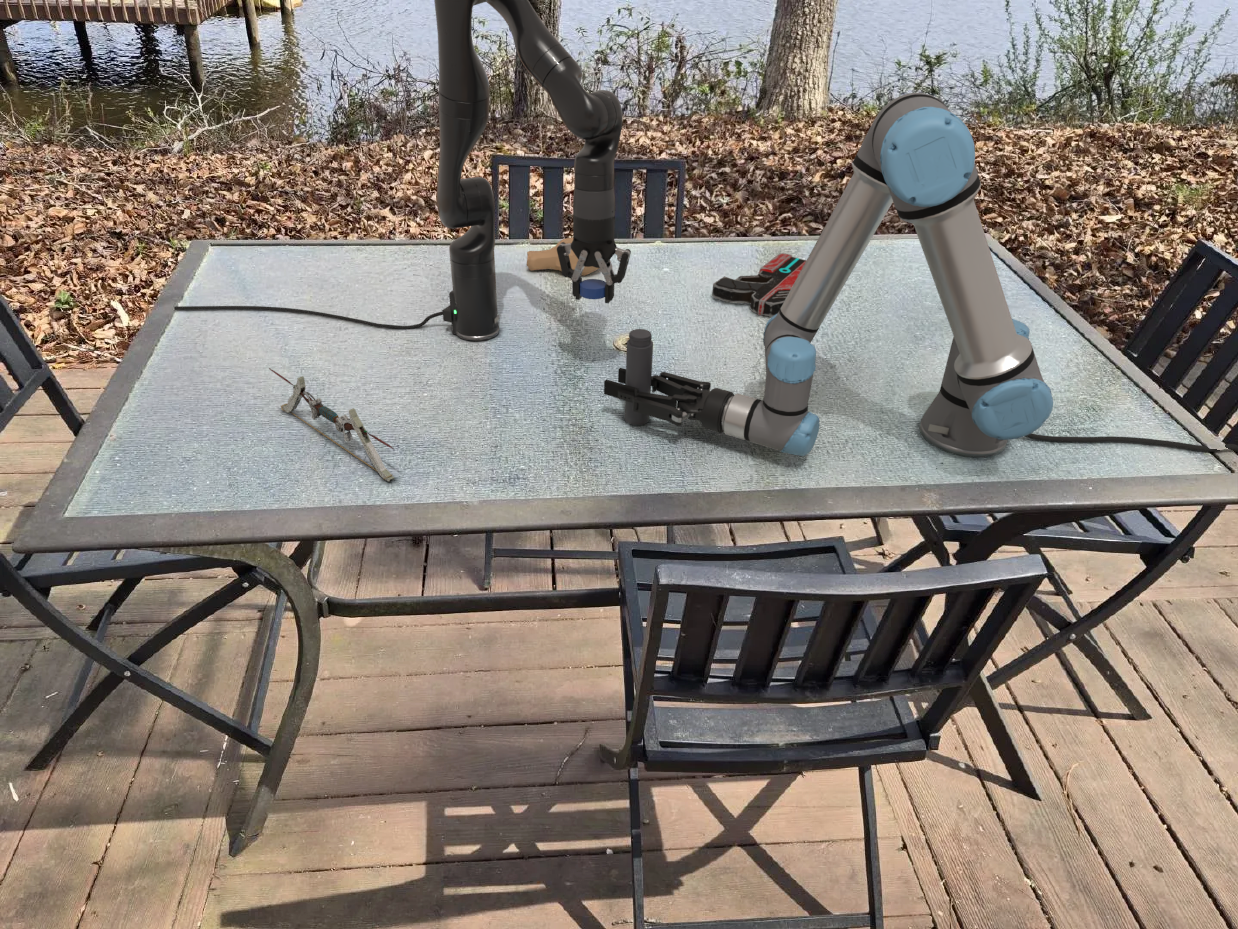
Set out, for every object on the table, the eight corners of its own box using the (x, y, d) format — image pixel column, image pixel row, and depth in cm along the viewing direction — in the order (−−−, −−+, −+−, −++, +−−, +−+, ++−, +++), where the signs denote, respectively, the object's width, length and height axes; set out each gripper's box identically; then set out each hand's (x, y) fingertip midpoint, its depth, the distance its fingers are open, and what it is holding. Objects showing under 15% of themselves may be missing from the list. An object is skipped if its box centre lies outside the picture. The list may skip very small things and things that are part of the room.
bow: (404, 484, 144) (397, 432, 138) (395, 489, 143) (388, 437, 137) (282, 401, 165) (271, 354, 160) (273, 405, 164) (262, 357, 158)
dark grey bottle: (639, 410, 166) (643, 325, 157) (654, 421, 163) (659, 335, 153) (619, 416, 164) (622, 331, 154) (633, 427, 161) (637, 341, 151)
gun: (708, 284, 207) (784, 305, 199) (760, 245, 229) (831, 262, 221) (706, 302, 209) (781, 323, 201) (758, 261, 231) (828, 278, 223)
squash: (606, 279, 220) (601, 247, 214) (527, 286, 222) (521, 255, 215) (606, 257, 228) (602, 226, 222) (531, 264, 229) (524, 233, 223)
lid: (592, 301, 163) (592, 291, 162) (574, 293, 166) (574, 283, 165) (612, 294, 166) (612, 284, 165) (594, 286, 169) (594, 276, 168)
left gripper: (549, 213, 156) (551, 303, 165) (628, 221, 153) (625, 312, 162) (561, 201, 162) (562, 288, 171) (637, 208, 159) (634, 296, 168)
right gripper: (706, 455, 149) (588, 419, 158) (745, 410, 162) (633, 379, 171) (710, 417, 144) (588, 382, 153) (750, 373, 157) (635, 344, 166)
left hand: (593, 299), depth 167 cm, fingers closed on lid, 5 cm apart
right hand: (612, 380), depth 162 cm, fingers closed on dark grey bottle, 5 cm apart
